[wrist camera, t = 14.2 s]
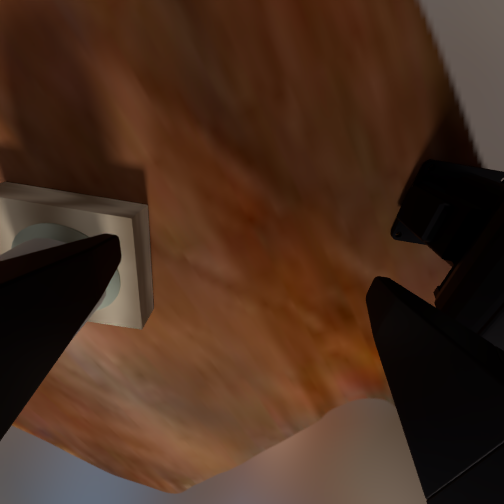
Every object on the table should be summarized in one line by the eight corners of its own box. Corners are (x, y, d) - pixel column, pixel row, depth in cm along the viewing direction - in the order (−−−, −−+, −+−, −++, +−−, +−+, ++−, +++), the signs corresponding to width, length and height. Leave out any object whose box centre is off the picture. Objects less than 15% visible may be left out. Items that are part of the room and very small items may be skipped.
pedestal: (147, 204, 22) (130, 219, 19) (153, 308, 28) (141, 331, 25) (5, 181, 22) (-33, 193, 19) (42, 291, 28) (17, 312, 25)
